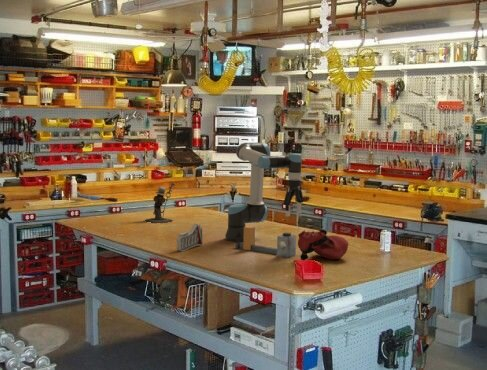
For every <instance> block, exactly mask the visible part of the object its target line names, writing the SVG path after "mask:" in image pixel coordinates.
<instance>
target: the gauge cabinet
mask: <svg viewBox="0 0 487 370" xmlns="http://www.w3.org/2000/svg"><path fill="white" fill-rule="evenodd" d="M276 237H277V238H276V241H277V242H276V248H277V255H276V257H280V258H284V259H285V258H286V259H287V258H291V257H294V256H296V251H297V250H296V249H297V235H296V234H292V233H291V236H288V237H286V236H283V234H280V235H277V236H276Z"/></svg>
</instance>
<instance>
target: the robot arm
mask: <svg viewBox="0 0 487 370" xmlns="http://www.w3.org/2000/svg"><path fill="white" fill-rule="evenodd" d="M235 154H236V157H237V158H238V159H239V160H242V161H244V162H248V163H249V164H250V166H251V167H250V186H249V187H250V188H249V200H248V201H247V203H246V204H245V203H235V204H230V205H229V206H228V210H227V231H226V232H225V236H224V237H225V238H224V239H225V240H226V241H229V242H244V227H246V224H255V223H256V224H258V223H263V222H264V221H265V220H266V219H267V217H268V207H267V206H266V205H265V202H264V201H263V193H264V191H263V190H264V176H265V174H264V172H265V170H266V169H288V172H287V173H288V174H287V175H288V177H287V179H288V180H287V186H288V187H289V188H286V193H285V196H284V200H283V205H284V206H285V213H284V215H285V217H290V216H291V202H292V199H293V197H295V199H296V201H297V202H296V214H302V203H304V197H303V196H304V195H303V191H302V186H301V184H302V181H301V179H302V161H303V160H302V154H301V153H289V155H287V154H284V155H283V154H282V155H271V149H270V146H269V145H268V144H267V143H266V142H243V143H240V144H239V145H238V147H237V148H236V150H235Z"/></svg>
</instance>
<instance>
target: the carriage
mask: <svg viewBox="0 0 487 370" xmlns="http://www.w3.org/2000/svg"><path fill="white" fill-rule="evenodd" d="M243 243H244V244H243V249H242V250H245V251H251V245H256V226H251V225H245V227H244V241H243Z"/></svg>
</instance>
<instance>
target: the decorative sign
mask: <svg viewBox="0 0 487 370" xmlns="http://www.w3.org/2000/svg"><path fill="white" fill-rule="evenodd" d="M203 240H204V239H203V227H201V224H198V223H194V224H193V225H192V227H191V228H190V229H189V231H183V232H181V233H178V236H177V237H176V249H177V251H178V252H185V251H187V250H189V249H192V248H194V247H197V246H200V247H201V246H202V247H203V246H204V243H203Z"/></svg>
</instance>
